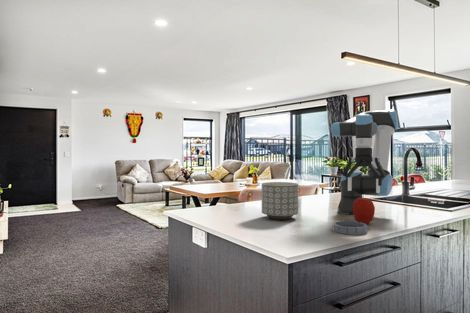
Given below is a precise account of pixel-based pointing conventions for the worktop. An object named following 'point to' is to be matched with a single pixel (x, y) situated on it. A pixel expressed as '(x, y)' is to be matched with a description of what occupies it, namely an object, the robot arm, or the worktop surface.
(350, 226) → the grey shallow round dish
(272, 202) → the planter
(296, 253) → the worktop surface
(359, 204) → the apple
